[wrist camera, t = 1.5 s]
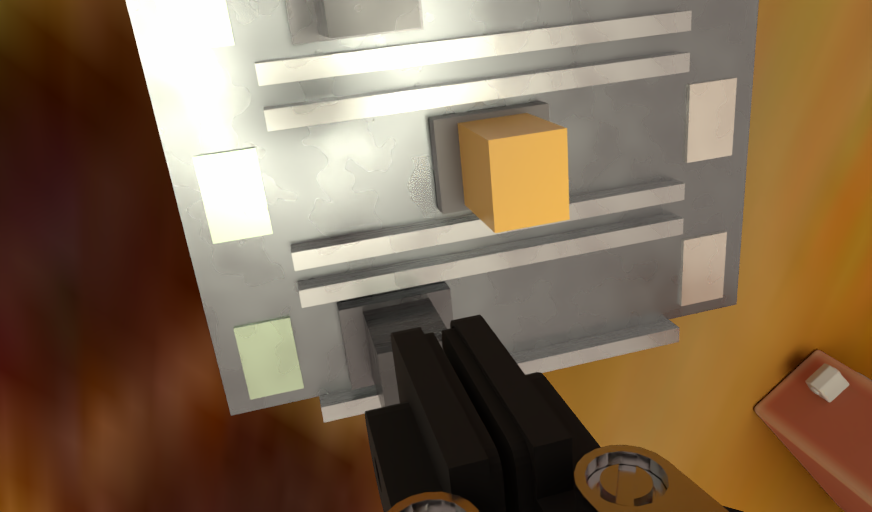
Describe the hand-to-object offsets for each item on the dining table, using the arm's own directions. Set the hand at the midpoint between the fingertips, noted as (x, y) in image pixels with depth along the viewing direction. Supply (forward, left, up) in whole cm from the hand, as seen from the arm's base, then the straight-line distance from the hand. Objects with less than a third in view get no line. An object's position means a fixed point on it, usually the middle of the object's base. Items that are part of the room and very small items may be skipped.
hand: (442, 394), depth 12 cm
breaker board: (0, +7, -19) cm, 20 cm away
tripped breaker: (0, +6, -17) cm, 18 cm away
